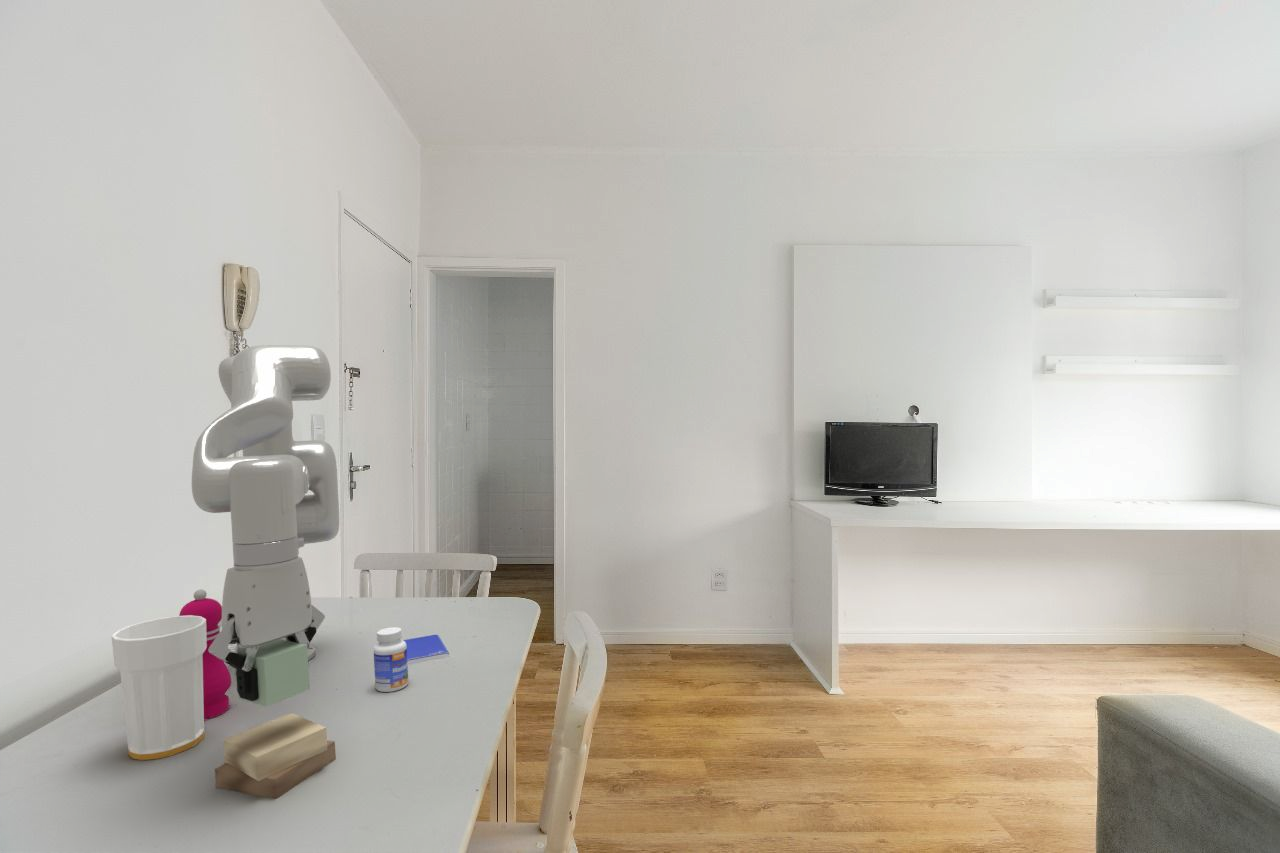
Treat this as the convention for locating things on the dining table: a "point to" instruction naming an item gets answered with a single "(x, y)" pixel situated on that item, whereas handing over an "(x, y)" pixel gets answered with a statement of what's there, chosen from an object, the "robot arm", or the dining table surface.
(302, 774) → the walnut base block
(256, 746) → the oak top block
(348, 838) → the dining table surface
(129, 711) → the cup
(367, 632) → the dining table surface
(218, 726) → the dining table surface
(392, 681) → the pill bottle
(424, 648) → the hard drive
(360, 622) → the dining table surface
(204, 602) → the pepper mill
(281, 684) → the sage block
